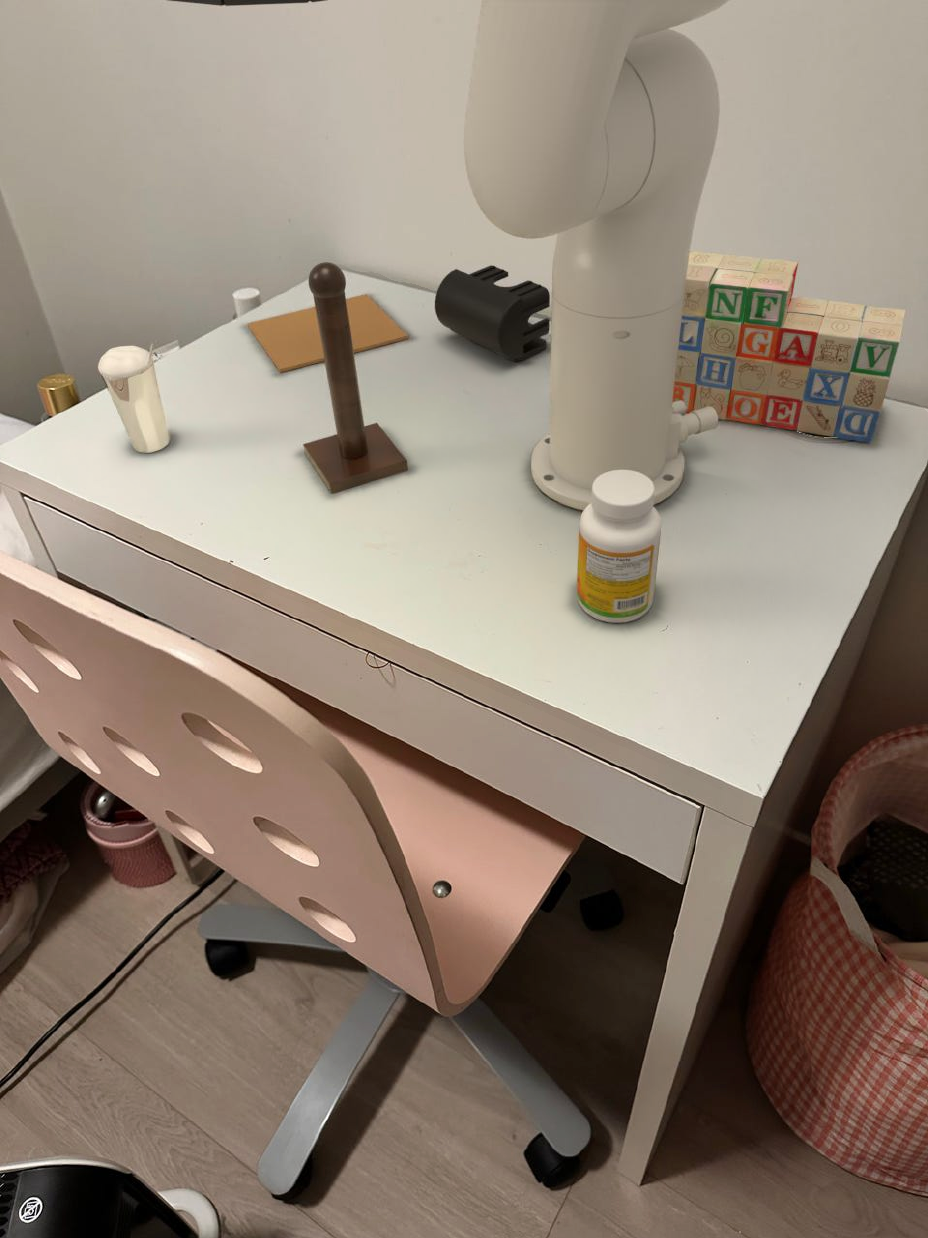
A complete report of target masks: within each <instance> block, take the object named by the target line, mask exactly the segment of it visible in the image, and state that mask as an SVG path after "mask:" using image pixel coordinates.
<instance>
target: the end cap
mask: <svg viewBox="0 0 928 1238" xmlns="http://www.w3.org/2000/svg"><path fill="white" fill-rule="evenodd" d="M506 278H509V271H507V270H505V269H503V268H500V267H497V266H496V265H492V264H491V265H488V266H486V267H483V268H480V269H478V270H476V271H473V272H470V273H466V272H464V271H462V270H459V269H457V268H455V269H453V270H451V271H450V272H448V273H447V274H446V275H445V276H444V278H443V279H442V281H441V282H440V283H439V285H438V287H437V290H436V293H435V295H434V296H435V297H434V312H435V315H436V318H437V320H438V321H439V323H440V324H441V325H442V326H444V327H445V328H447V329H449V330H450V331H451V332H453V333H455V334H457V335H460V336H461V337H463V338H466V339H468V340H470V341H471V342H474V343H476V344H477V345H480V346H482V347H484V348H485V349H487V350H490V351H491V352H494V353H496V354H498V355H500V356H502V357H504V358H506V359H508V360H510V361H512V362H521V361H524V360H526V359H528V358H530V357H532V356H534V355H536V354H538V353H540V352H542V351H545V350H546V349H547V348H548V341H547V340H546V339H544V338H542V337H544V336H547V335H548V334H549V333H550V321H551V318H548V317H545V318H544V319H541V320H539V321H536V322H534V323H531V322H529V320H530V318H531V317H532V315H535V314H537V313H539V312H542V311H543V310H546V309H548V308H550V307H551V306H550V305H551V304H550V301H551V296H550V295H551V293H550V291H549V289H548V288H547V287H546V286H544V285H542V284H539V283H536V282H533V281H532V280H526V281H524V282H521V283H518V284H515V285H511V286H501V285H497V284H495V283H497V282H499V281H501V280H503V279H506Z"/></svg>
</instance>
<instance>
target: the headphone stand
mask: <svg viewBox="0 0 928 1238" xmlns="http://www.w3.org/2000/svg"><path fill="white" fill-rule="evenodd" d="M307 281H308V288H309V291H310V292H311V293H312V296H313V302H314V307H315V308H316V314H317V320H318V326H319V332H320V338H321V344H322V349H323V355H324V361H323V362H324V367H325V373H326V377H327V385H328V391H329V396H330V402H331V407H332V414H333V419H334V420H333V421H334V426H335V431H336V433H335V434H333V435H330V436H326V437H323V438H319V439H316V440H312V441H309V442H306V443H303V444H302V445H303V451H304V455H306V457H307V459H308V460H309V462H310V464H311V465H312V466H313V468H314V470H315V471H316V473H317V474H318V476H319V478H320V479H321V480H322V482H323V484H324V485H325V487H326V488H327V490H328V491H329V492H330V494H335V493H337V492H341V491H344V490H348V489H350V488H353V487H357V486H360V485H363V484H367V483H370V482H372V481H377V480H379V479H384V478H387V477H389V476H392V475H396V474H399V473H402V472H406V471H408V470H409V468H408V467H409V466H408V460H407V459H406V457H405V456H404V454H402V452H401V451H400V449H399V448H398V447H397V446H396V445H395V443H394V442H393V441H392V440H391V438H390V437H389V436H388V434H387V433H386V432H385V430H383V428H382V427H381V426H380V425H379V423H377V422H375V423H371V424H368V425H365V420H364V413H363V407H362V399H361V392H360V387H359V380H358V379H359V378H358V372H357V366H356V359H355V353H354V351H353V344H352V337H351V331H350V324H349V317H348V310H347V303H346V299H347V298H346V286H347V280H346V275H345V273H344V271H343V270H342V269H341V267H340V266H338V265H337V264H335V263H333V262H329V261H325V262H324V261H323V262H320V263H317V264H316V265H315V266H314V267H312V269H311V271H310V272H309V274H308V280H307Z"/></svg>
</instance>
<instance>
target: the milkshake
mask: <svg viewBox="0 0 928 1238" xmlns="http://www.w3.org/2000/svg"><path fill="white" fill-rule="evenodd" d="M149 346H150V347H149V351H148V350H147V349H144V348H142V347H139V346H136V345H123V346H116V347H112V348H110V349H108V350H107V351H106V352H105V353H104V354H103V355H102V356H101V357H100V359H99V362H98V365H97V368H98V372H99V374H100V376H101V378H102V381H103V382H104V384H105V387H106V389H107V390H108V393H109V395H110V397H111V399H112V402H113V404H114V406H115V408H116V411H117V413H118V417H119V418H120V420H121V422H122V425H123V427H124V429H125V431H126V433H127V436H128V438H129V441H130V443H131V445H132V448H134V450H135V451H137V452H138V453H145V454H152V453H154V452H159V451H162V450H163V449H165V448H166V447H167V446H169V443H170V440H171V437H170V432H169V428H168V424H167V419H166V415H165V410H164V406H163V402H162V397H161V394H160V389H159V384H158V378H157V373H156V368H155V364H154V363H155V362H154V358H153V348H154V341H152V342H151V343H150V345H149Z"/></svg>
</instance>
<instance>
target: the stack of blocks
mask: <svg viewBox="0 0 928 1238" xmlns="http://www.w3.org/2000/svg"><path fill="white" fill-rule="evenodd" d="M798 266H799V262H798V261H795V260H785V259H776V258H766V257H762V258H761V257H757V256H756V257H755V256H746V255H737V254H723V253H722V254H721V253H713V252H711V253H710V252H700V251H690V254H689V262H688V270H687V279H686V287H685V294H684V302H683V311H682V320H681V329H680V337H679V346H678V355H677V364H676V373H675V382H674V391H673V400H672V402H675V401H679V400H681V401H683V402H684V403H685V405H686V414H689V413H690V412H692V411H695V410H698V409H701V408H704V407H708V406H710V407H713V408H714V409H715V411H716V413H717V415H718V420H723V421H724V420H725V421H726V420H727V421H733V422H741V423H745V424H747V423H748V424H753V425H762V426H766V427H773V428H779V429H785V430H792V431H797V432H800V433H801V432H802V433H809V434H814V435H820V436H827V437H834V438H838V439H844V440H850V441H855V442H863V443H872V440H873V438H874V435H875V430H876V428H877V423H878V421H879V417H880V413H881V411H882V409H883V404H884V401H885V397H886V393H887V390H888V386H889V383H890V380H891V376H892V375H891V374H892V372H893V367H894V364H895V360H896V358H897V357H896V356H897V353H898V349H899V345H900V340H901V336H902V330H903V323H904V318H905V314H906V310H905V309H903V308H895V307H894V308H892V307H885V306H884V307H883V306H875V305H867V304H861V303H853V302H844V301H838V300H837V301H836V300H826V299H821V298H811V297H810V298H809V297H802V296H801V297H800V296H798V297H793V294H794V288H795V282H796V278H797V277H796V276H797V271H798ZM686 414H685V415H686Z"/></svg>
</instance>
